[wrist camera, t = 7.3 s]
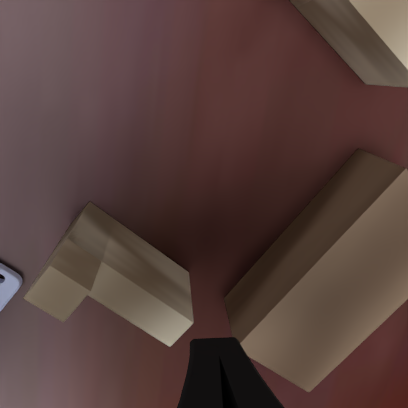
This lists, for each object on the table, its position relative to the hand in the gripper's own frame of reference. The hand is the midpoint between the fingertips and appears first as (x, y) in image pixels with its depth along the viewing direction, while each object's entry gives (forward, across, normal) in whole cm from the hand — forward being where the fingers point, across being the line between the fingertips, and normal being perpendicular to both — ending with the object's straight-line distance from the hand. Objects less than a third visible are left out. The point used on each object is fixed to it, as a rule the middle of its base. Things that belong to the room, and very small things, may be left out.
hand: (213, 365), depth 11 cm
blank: (+8, -6, 0) cm, 10 cm away
